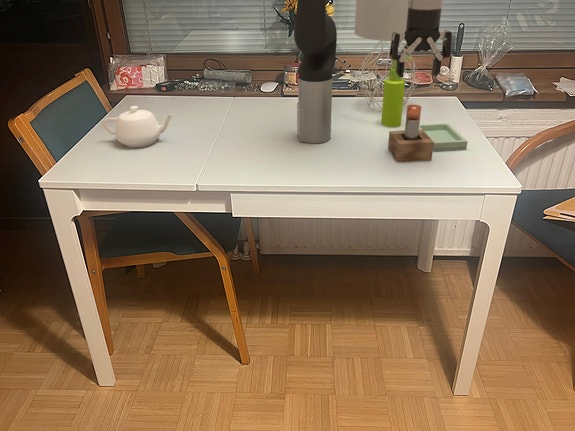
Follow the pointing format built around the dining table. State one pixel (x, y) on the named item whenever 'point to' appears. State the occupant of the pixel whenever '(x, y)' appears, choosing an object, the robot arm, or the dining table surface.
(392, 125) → the soap dispenser
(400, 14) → the table lamp
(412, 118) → the grey and copper cylinder
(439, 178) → the dining table surface
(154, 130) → the teapot
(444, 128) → the tray
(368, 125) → the dining table surface
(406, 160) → the hitch block
